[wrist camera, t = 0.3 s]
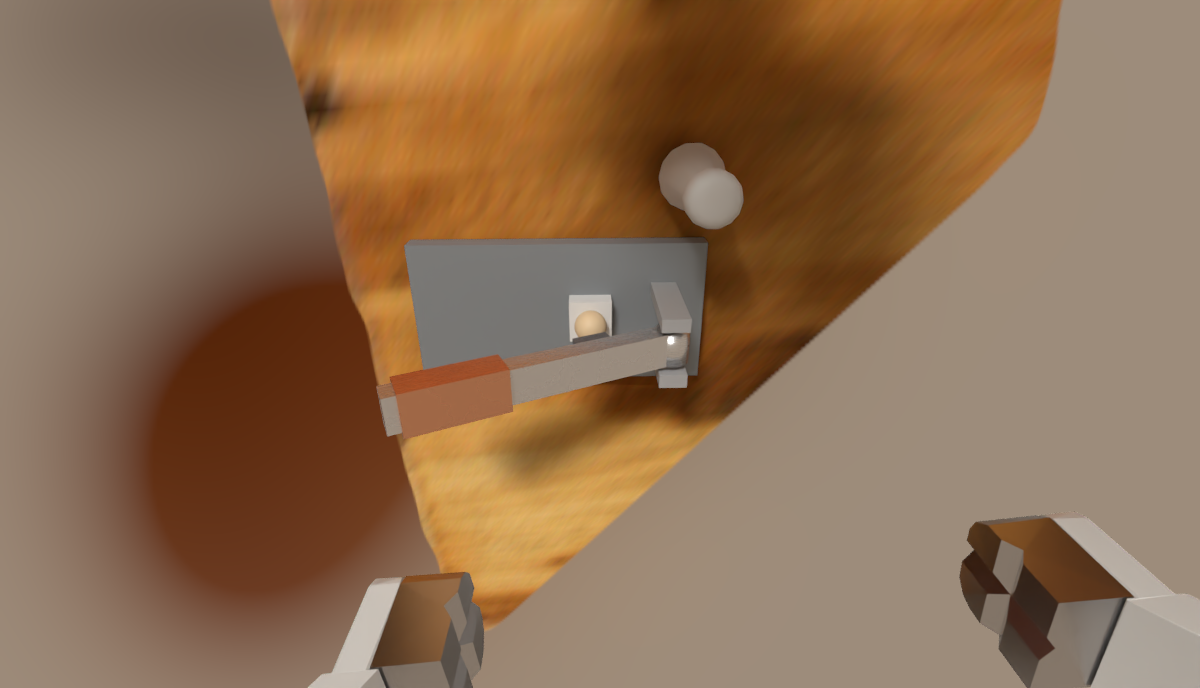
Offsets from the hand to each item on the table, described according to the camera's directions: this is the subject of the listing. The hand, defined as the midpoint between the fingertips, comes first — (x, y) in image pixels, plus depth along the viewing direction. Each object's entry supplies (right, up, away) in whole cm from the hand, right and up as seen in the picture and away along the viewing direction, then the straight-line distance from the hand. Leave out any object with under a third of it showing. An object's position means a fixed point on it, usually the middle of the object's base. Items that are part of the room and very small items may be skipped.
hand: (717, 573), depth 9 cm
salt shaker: (+6, +20, +43) cm, 47 cm away
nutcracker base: (-6, +8, +48) cm, 49 cm away
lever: (-7, +2, +37) cm, 38 cm away
